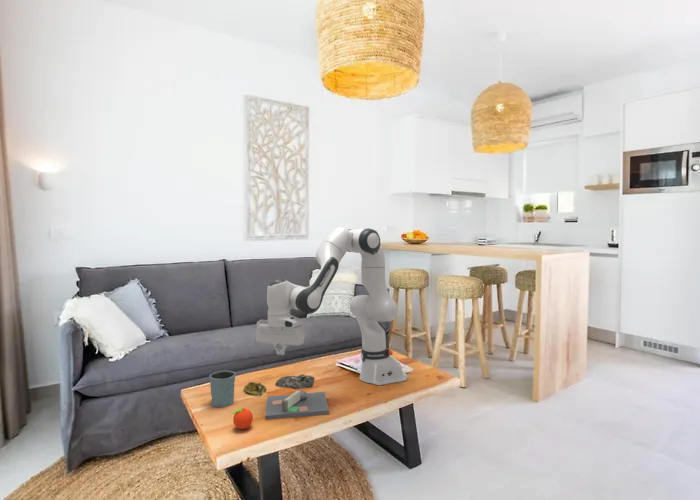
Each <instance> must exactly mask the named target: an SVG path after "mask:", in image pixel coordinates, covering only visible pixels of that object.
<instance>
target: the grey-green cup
mask: <svg viewBox="0 0 700 500" xmlns="http://www.w3.org/2000/svg"><path fill="white" fill-rule="evenodd" d="M235 381H236V372H234V371H232V370H228V369H227V370H218V371H214V372H213V373H212V372H211V374H209V384H210V385H209V386H210V394H211V396H210V397H211V405H212V406H213V407H215V408H225V407H228V405H229V406H231V405H233V404H234V401H235V398H234V397H235V385H236V384H235Z"/></svg>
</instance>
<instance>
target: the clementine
mask: <svg viewBox="0 0 700 500" xmlns="http://www.w3.org/2000/svg"><path fill="white" fill-rule="evenodd" d="M232 416H233V420H232V421H233V424H234V426H235V428H237V429H239V430H246V429H248V428H249V427H250V426H251V425H252V423H253V421H254V415H253V413H252V411H251V410H250V409H248V408H245V407H244V408H239V409H237V410H235V411H234V412H233V413H232V414H231V415H230V418H229V419H231V417H232Z"/></svg>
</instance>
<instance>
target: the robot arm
mask: <svg viewBox="0 0 700 500" xmlns="http://www.w3.org/2000/svg"><path fill="white" fill-rule="evenodd" d="M347 252H349V253H358V254H360V257H361V273H360V274H361V275H360V276H361V279H360V280H361V284H362V286H363V287H364V288H366V291H367V292H368V295H367V294H360V295H354V296H353V297H352V298H351V300H350V302H349V310H350V312H351V314H352V315H353V316H354V317H355V319H356V321H357V322H358V325H359V328H360V332H361V333H360V334H361V346H362V348H361V350H360V352H361V353H360V356H361V368H360V373H359V380H360V381H362V382H363V383H369V384H373V385H374V386H382V385H388V384H393V383H394V384H395V383H399V382H400V383H401V382H406V381H408V374H407V373H406V372H405V371H404V370H403V367H402V365H401V363H400V362H399V360H397V359H396V358H394V357H392V355H393V351H392V350H391V349H389V347H387V345H386V343H387V341H386V332H385V329H383V327H381V325H380V324H379V322H392V321H393V320H395V319H396V318H397V316H398V312H399V307H398V304H397V302H396V301H395V300H394V299H393V298H392V297H391V295H390V293H389V291H388V287H387V284H386V283H387V282H386V260H385V252H384V248H383V246H382V244H381V237H380V235H379V233H378V231H377V230H375V229H373V228H365V227H364V228H363V227H361V228H360V227H359V228H353V229H347V228H345V227H343V226H338V227H336V228H334V229H333V230H332V231H331V232H330V233H329V234H328V235H327V236H326V237H325V238H324V240H323V241H322V242H321V243H320V245H319V246H318V248H317V249H316V252H315V259H316V261H317V264H319V265H320V270H319V271H318V273H317V274H316V276H315V279H314V280H313V282H312V283H311V284H310V285H308V286H303V285H297V284H296V283H295V284H294V283H292V282H290V281H288V280H287V279H285V278H280V279H274V280H272V281H271V282H269V283H268V285H267V290H266V304H267V308H268V309H267V319H259V320H257V322H256V332H255V333H256V334H255V337H256V338H255V340H256V342H257V343H261V344H272V346H273V348H274V349H275V352H276V355H277V356H278V355H279V356H284V355H285V354H286V348H287V347H288V346H298V347H299V346H301V345H303V344H304V342H305V339H306V338H305V331H304V330H305V329H304V327H303V326H302V323H303V319H301V318H300V317H297V316H295V315H292V314H291V310H293V309H295V310H297V311H299V312H302V313H303V314H306V315H310V314H311V315H312V314H313V313H316V312H317V311H318V310H319V309H320V308H321V305H322V302H323V299H324V296H325V293H326V292H327V290H328V289H329V286H330V285H331V283H332V281H333V279H334V278H335V276H336V273H338V270H339V266H340V263H341V261H342V259H343V258H344V257H345V255H346V254H347ZM279 345H281V347H282V348H280V347H279Z"/></svg>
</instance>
